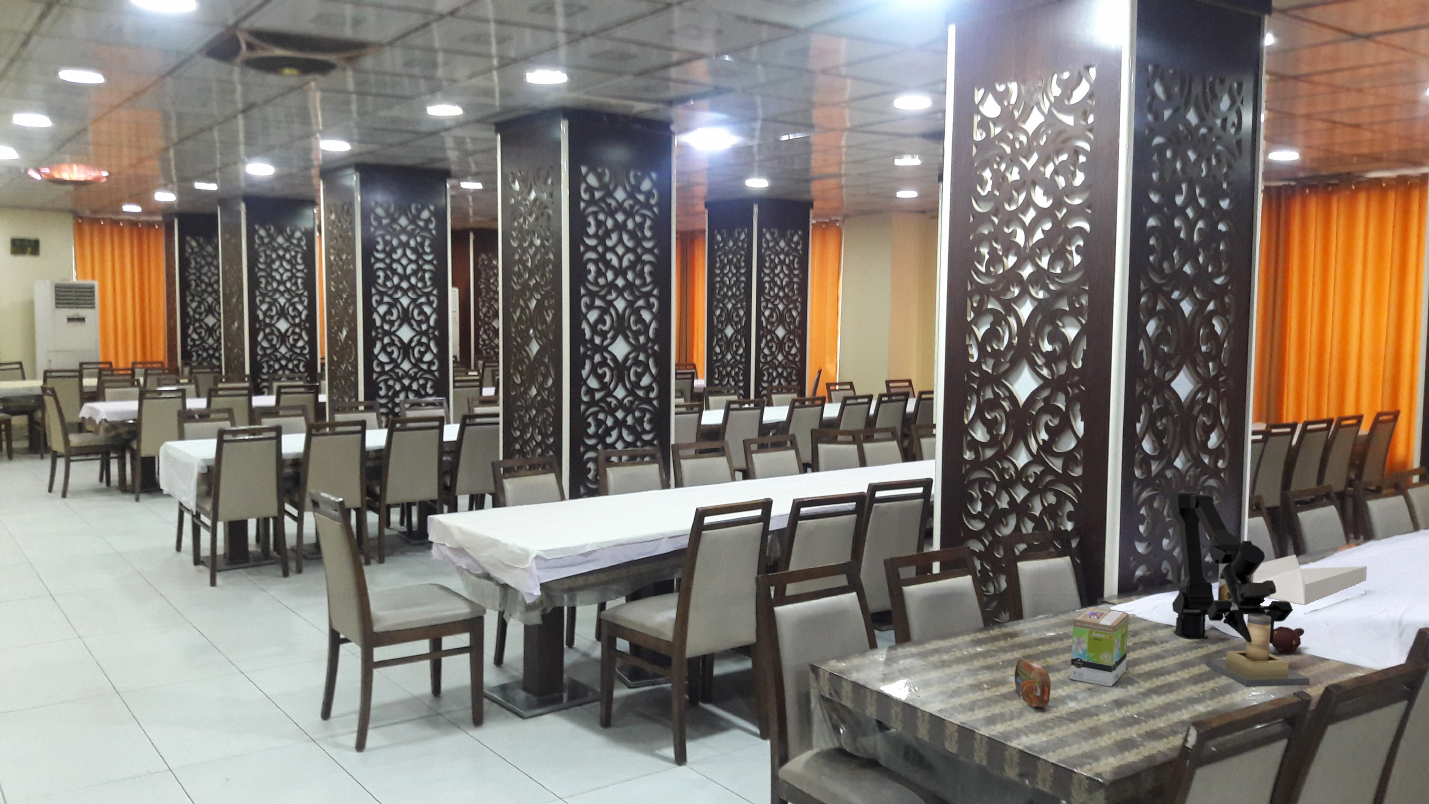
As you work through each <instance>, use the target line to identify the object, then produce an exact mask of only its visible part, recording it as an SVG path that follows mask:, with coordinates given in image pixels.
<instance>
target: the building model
mask: <svg viewBox="0 0 1429 804" xmlns="http://www.w3.org/2000/svg"><path fill="white" fill-rule="evenodd" d="M1367 569H1368V567H1367V566H1341V567H1340V566H1338V567H1337V566H1336V567H1334V566H1333V567H1317V568H1316V567H1314V568H1313V567H1312V568H1311V567H1310V568H1309V567H1308V568H1300V565H1299V562H1298V559H1297V556H1296V554H1292V555H1288V556H1284V557H1280V558H1276V559H1272V560H1269V561H1263V562H1262V563H1261V565H1260V566H1259V567H1258V569H1257V570H1256V571H1255V572H1254V573H1253V583H1263V582H1264V581H1266V580H1272V581H1273V582H1274V584H1275V586H1276V593H1274V594H1272V595H1270V596H1269V597H1268V596H1267V597H1265V598H1269V599H1275V600H1279V601H1288V602H1289V603H1293V604H1299V605H1307V604H1309V603H1311V602H1314V601H1316V600H1319V599H1322V598H1324V597H1327V596H1329V595H1332V594H1334V593H1337V592H1339V591H1341V590H1344V589H1347V588H1349V587H1352V586H1355V585H1356V584H1359V583H1361V582H1363V581H1366V582H1367V573H1368V572H1367Z"/></svg>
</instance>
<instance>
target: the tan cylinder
mask: <svg viewBox="0 0 1429 804" xmlns="http://www.w3.org/2000/svg"><path fill="white" fill-rule="evenodd" d="M1246 625H1247V628H1248V630H1249V633H1250V636H1251V642H1250V643H1249V642H1247V641H1246V640H1245V641H1246V642H1245V651H1246V658H1248V659H1250V660H1252V661H1269V653H1270V644H1271V643H1270V627H1271V617H1270V616H1268V615H1264V614H1256V613H1252V614H1247V621H1246Z"/></svg>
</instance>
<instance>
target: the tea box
mask: <svg viewBox="0 0 1429 804" xmlns="http://www.w3.org/2000/svg"><path fill="white" fill-rule="evenodd" d="M1129 616H1130V615H1129V613H1128V612H1125V611H1124V612H1121V611H1116V610H1110V609H1109V610H1108V609H1103V608H1097V607H1096V608H1095V607H1089V606H1087V608H1086V609H1084V610H1083V611H1082V612H1080V613H1079V614H1078V615H1077V616H1075V617H1074V618H1073V627H1072V642H1071V643H1072V644H1071V658H1070V671H1069V673H1070V674H1069V679H1070V680H1074V681H1078V682H1083V683H1088V684H1093V685H1099V686H1104V687H1112V686H1113V685H1114V684H1115V683H1116V682H1117V681H1118V680H1119V679H1120V677H1122V675H1123V674H1125V672H1126V668H1127V655H1128V654H1127V652H1128V638H1129V637H1128V635H1129V618H1130V617H1129Z"/></svg>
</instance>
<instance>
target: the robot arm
mask: <svg viewBox="0 0 1429 804" xmlns="http://www.w3.org/2000/svg"><path fill="white" fill-rule="evenodd" d="M1168 503H1169V506H1170V508H1171V513H1172V517H1173V518H1174V519H1175V520H1176V522H1177V523H1178V525H1179V533H1180V543H1181V555H1182V557H1181V558H1182V566H1183V568H1182V569H1183V578H1182V581H1181V583H1180V584H1179V586H1178V594H1177V595H1176V598H1175V599H1174V600H1173V602H1172V603H1171V604H1172V611H1173V612H1175V613H1176V614H1177V617H1176V621H1175V622H1176V623H1175V629H1174V631H1173V633H1174V634H1176V635H1179V636H1180V637H1183V638H1184V639H1208V638H1209V635H1207V634H1206V616H1207V617H1208V620H1209V621H1210V622H1221V621H1222V622H1223V624H1226V625H1228V626H1229V627H1231V628H1232V630H1234V631H1235V632H1236V633H1238V635H1240V636H1241V637H1242V638H1243V639H1244V640H1245V641H1247V642H1249V643H1250V642H1251V636H1250V633H1249V630H1248V628H1247V622H1246V621H1245V615H1248V614H1252V613H1256V614H1264V615H1268V616H1270V617H1271V627H1270V644H1271V643H1272V642H1273V638H1274V629H1275V622H1277V623H1278V622H1280V623H1281V622H1284V621H1285V620H1287V618H1288V617H1289V615H1290V614H1291V613H1293V612H1292V611H1293V609H1292V606H1291V604H1290V603H1289V602H1288V601H1272V602H1271V604H1270V605H1269V606H1261V605H1260V604H1261V603H1263V602H1264V601H1265V600H1264V598H1265V597H1267V596H1268V597H1269V596H1270V595H1272V594H1274V593H1276V586H1275V584H1274V582H1273V581H1272V580H1266V581H1264V582H1263V583H1252V581H1251V578H1250V576H1249V575H1252V574H1253V573H1254V572H1255V571H1256V570H1257V569H1258V567H1259V566H1260V565H1261V563H1264V562H1265V559H1266V556H1265V553H1264V551H1263V550H1262V549H1261V548H1260V547H1259V546H1257V545H1255V544H1253V542H1252V540H1242V542H1241V541H1240V540H1239V538H1238V537H1237V536H1235V535H1234V534H1233V533H1230V532H1229V530H1228V529H1227V526H1226V524H1225V522H1224V521H1223V518H1222V517H1221V515H1220V513H1219V511H1218V509H1217V507H1216V506H1215V502H1214V497H1213V495H1211V494H1209V493H1208V494H1202V493H1201V492H1199V491H1175V492H1173V495H1171V496H1170V497H1169V502H1168ZM1200 523H1201V526H1202V527H1203V529H1204V531H1205V533H1206V535H1207V537H1208V539H1209V542H1210V544H1209V546H1208V551H1209V555H1210V559H1212V562H1213V563H1214V564H1215V565H1219V564H1228V565H1226V566H1225V567H1224V568H1223V569H1222V573H1221V574H1220V579H1225V581H1226V584H1227V587H1228V590H1229V593H1228V598H1230V599H1232V601H1233V604H1232V602H1231V601H1229V600H1218V599H1215V596H1214V592H1213V584H1212V582H1210V581H1208V580H1207V579H1206V578H1205V577H1204V568H1203V567H1204V566H1203V556H1202V548H1201V547H1202V546H1201V535H1200V525H1199V524H1200Z"/></svg>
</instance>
